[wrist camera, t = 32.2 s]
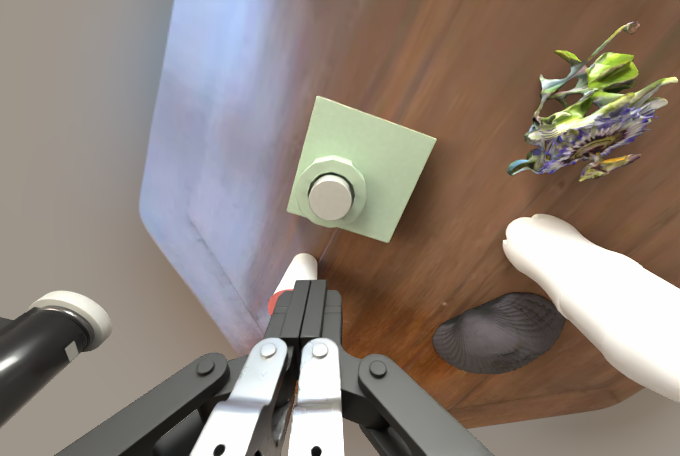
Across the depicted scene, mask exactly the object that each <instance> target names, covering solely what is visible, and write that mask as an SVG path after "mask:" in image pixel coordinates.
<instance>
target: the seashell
mask: <svg viewBox="0 0 680 456" xmlns="http://www.w3.org/2000/svg"><path fill="white" fill-rule="evenodd" d="M564 322H565V319H564V316H563V315H562V314H561V313H560V312H559V311H558V310H557V308H556V306H555V305H554V304H552V303H551V302H550V301H548V300H546V299H545V298H543V297H541V296H538V295H534V294H531V293H510V294H506V295H503V296H501V297H499V298H497V299H495V300H493V301H490V302H487V303H485V304H482V305H481V306H478V307H476V308H474V309H470V310H466V311H465V312H463V314H461V315H459V316H456V317H454V318H452V319H450V320H448V321H446V322H444V323H442V324H441V325H440V326H439V327H438V329H437V331H436V333H435V334H434V336H433V344H434V348H435V350H436V351H437V353H438V355H439V356H441V357H442V359H443V360H445V361H447V362H448V363H449V364H450V365H453V366H455V367H457V368H458V369H460V370H464V371H466V372H470V373H477V374H501V373H506V372H509V371H511V370H516V369H517V368H521V367H522V366H524V365H526V364H528V363H529V362H532V361H533V360H535V359H537V358H538V357H539V356H541V355H542V354H544V353H545V352H546V351H548V350H549V349H550V348H551V346H552V345H553V344H554V343H555V341H556V340H557V339H558V338H559V335H560V332H561V331H562V329H563V325H564Z"/></svg>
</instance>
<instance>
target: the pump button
mask: <svg viewBox="0 0 680 456" xmlns="http://www.w3.org/2000/svg"><path fill="white" fill-rule="evenodd" d="M351 203H352V194H351V188H350V186H349V184H348V183H347V181H345V180H344V179H343V178H342V177H340V176H337V175H325V176H322V177H320V178H319V179H318V180H317V181H316V182H315V183H314V185H313V187H312V189H311V192H310V194H309V205H310V208H311V210H312V211H313V213H314V214H315V215H317V216H318V217H319V218H321V219H324V220H329V221H332V220H338V219H340V218H342V217H343V216H345V215H346V214H347V213H348V211H349V210H350V207H351Z"/></svg>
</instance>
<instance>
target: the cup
mask: <svg viewBox="0 0 680 456" xmlns="http://www.w3.org/2000/svg"><path fill="white" fill-rule="evenodd" d="M296 280H317V261H316V259H315V258H314V257H313V256H312V255H310V254H307V253H301V254H298V255H297V256H295V257H294V259H293V261H292V262H291V264H290V266H289V268H288V269H287V271H286V273H285V275H284V277H283V278H282V280H281V282H280V284H279V286H278V288H277V289H276V291H275V293H274V295H273V296H272V297H271V298H270V300H269V303H268V310H269V313H270V315H271V316H272V314H273V310H274V308H275V305H276V302H277V299H278V297H279V296H280V295H281V294H282V293H283V292H284V291H293V288H294V284H295V281H296Z"/></svg>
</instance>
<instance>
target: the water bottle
mask: <svg viewBox="0 0 680 456" xmlns="http://www.w3.org/2000/svg"><path fill="white" fill-rule="evenodd" d="M506 237H507V239H506V240H503V250H504V252H505V255H506V257H507V258H508V260H509V261H510V262H511V263H512V264H513V266H514V267H515V268H516V269H517V270H519V271H520V272H522V273H524V274H525V275H527V276H528V277H530V278H532V279H533V280H534V281H535V282H536V283H538V284H539V285H540V286H541V287H542V288H543V289H544V291H545V292H546V293H547V294H548V296H549V297H550V298H551V300H552V301H553V303H554V305H555V306H556V308H557V310H558V311H559V312H560V313H561V314H562V315H563V316H564V317H565V318H566V319H568V320H570V321H571V322H572V323H573V324H574V325H575V326H576V327H577V328H578V329H579V330H580V331H581V332H582V333H583V334H584V336H585V337H586V338H587V339H588V340H589V341H590V342H591V343H592V344H593V345H594V346H595V347H596V348H597V349H598V350H599V351H600V352H601V353H602V354H603V355H604V357H605V359H606V360H607V361H608V362H609V363H610V364H611V365H612V366H613V367H615V368H616V369H617V370H618V371H620V372H621V373H622V374H624V375H625V376H627V377H628V378H630V379H631V380H633V381H635V382H637V383H638V384H640V385H642V386H644V387H646V388H648V389H650V390H653V391H655V392H657V393H659V394H661V395H663V396H665V397H667V398H669V399H671V400H674V401H676V402H678V403H680V289H678V288H677V287H675V286H673V285H671V284H670V283H668V282H666V281H665V280H663V279H661V278H659V277H658V276H656V275H654V274H652V273H651V272H649V271H647V270H646V269H644V268H643V267H642V266H641V265H640V264H638V263H637V262H635V261H633V260H632V259H630V258H628V257H626V256H624V255H622V254H619V253H616V252H612V251H609V250H606V249H604V248H601V247H599V246H597V245H595V244H593V243H592V242H590V241H589V240H587V239H586V238H584V237H583V236H582V235H581V234H580V233H579V232H578V231H577V230H576V229H575V228H574V227H573V226H572V225H570V224H569V223H567V222H565V221H563V220H561V219H559V218H557V217H554V216H551V215H546V214H535V215H533V216H532V218H529V217H522V218H518V219H516V220H514V221H513V222H511V223H510V224H509V225H508V227H507V229H506Z"/></svg>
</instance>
